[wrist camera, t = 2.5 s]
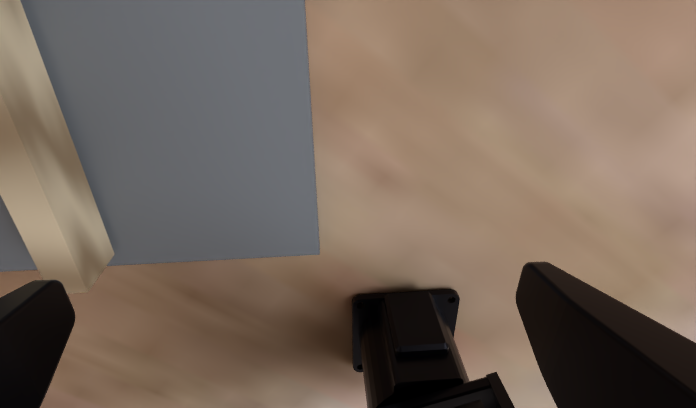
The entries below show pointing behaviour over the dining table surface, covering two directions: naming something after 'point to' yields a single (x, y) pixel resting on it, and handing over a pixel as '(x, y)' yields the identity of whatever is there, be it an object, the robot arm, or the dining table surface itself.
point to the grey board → (184, 125)
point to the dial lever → (44, 166)
